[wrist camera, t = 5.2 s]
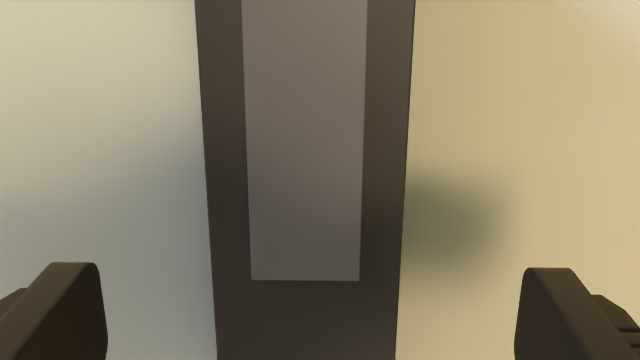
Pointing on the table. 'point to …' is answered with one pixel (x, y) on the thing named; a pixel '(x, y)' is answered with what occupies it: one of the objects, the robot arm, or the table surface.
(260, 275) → the block
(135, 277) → the table surface
